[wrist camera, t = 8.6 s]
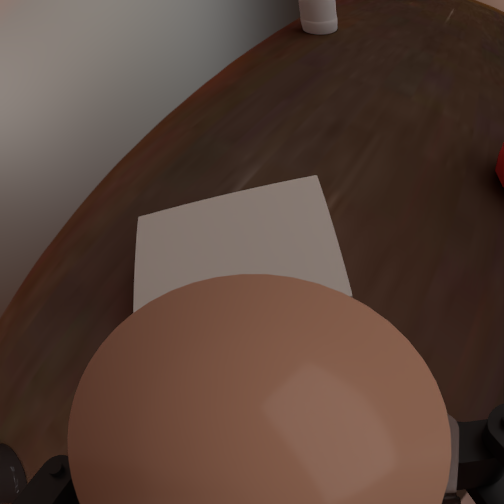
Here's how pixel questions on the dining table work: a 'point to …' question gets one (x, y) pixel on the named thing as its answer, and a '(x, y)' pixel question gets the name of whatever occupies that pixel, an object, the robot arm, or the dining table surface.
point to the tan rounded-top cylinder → (258, 403)
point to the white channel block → (240, 240)
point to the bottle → (318, 16)
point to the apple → (500, 166)
